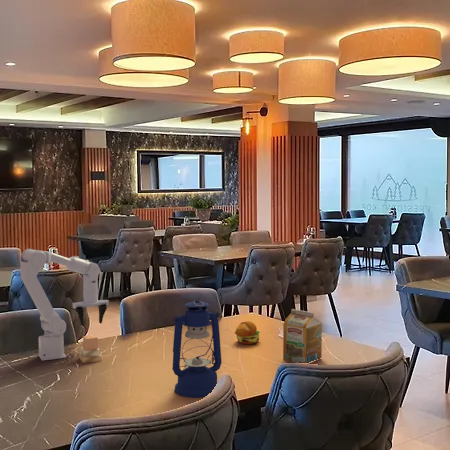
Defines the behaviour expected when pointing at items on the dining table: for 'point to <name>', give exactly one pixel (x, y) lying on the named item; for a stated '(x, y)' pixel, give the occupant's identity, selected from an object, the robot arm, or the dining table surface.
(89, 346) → the cube
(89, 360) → the bottom block
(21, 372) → the dining table surface
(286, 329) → the milk carton
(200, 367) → the lantern
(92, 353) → the top block
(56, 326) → the robot arm
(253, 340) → the cheeseburger
